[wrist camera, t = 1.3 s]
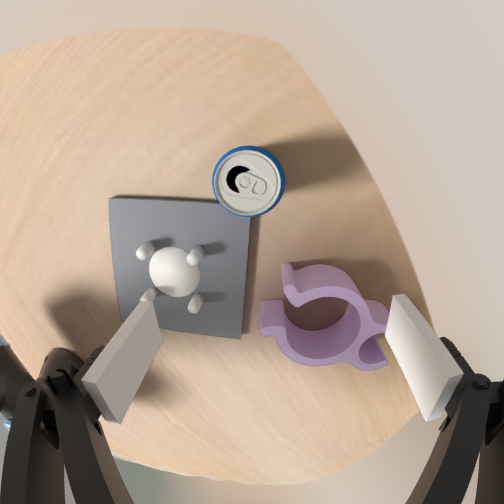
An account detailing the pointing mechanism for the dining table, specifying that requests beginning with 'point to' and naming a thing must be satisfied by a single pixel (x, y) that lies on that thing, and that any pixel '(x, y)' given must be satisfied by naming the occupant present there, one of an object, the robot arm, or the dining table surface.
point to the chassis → (181, 262)
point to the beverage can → (248, 181)
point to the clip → (336, 336)
